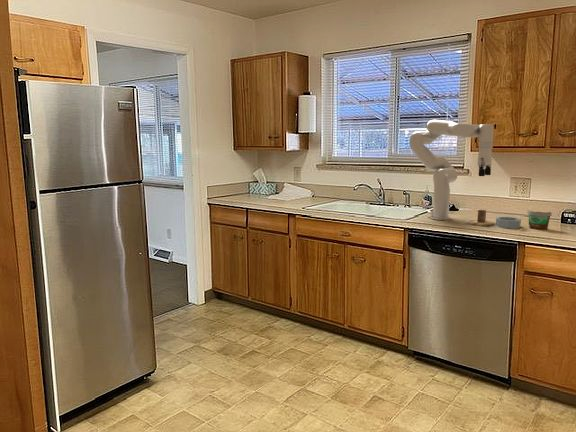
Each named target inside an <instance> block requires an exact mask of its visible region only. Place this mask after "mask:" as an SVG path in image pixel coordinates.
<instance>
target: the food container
mask: <svg viewBox="0 0 576 432" xmlns="http://www.w3.org/2000/svg"><path fill="white" fill-rule="evenodd" d="M527 215H528V229H532V230H537V231H539V230H540V231H545V230H548V228H549V222H550V218H551V216H552V215H553V214H552V211H548V212H545V211H544V212H543V211H532V210H529V209H528V211H527Z"/></svg>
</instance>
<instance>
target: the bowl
mask: <svg viewBox="0 0 576 432" xmlns="http://www.w3.org/2000/svg"><path fill="white" fill-rule="evenodd" d="M495 223H496V225H495V226H496V227H498V228H502V229H519V228H521V223H522V219H521V218H518V217H512V216H497V217H496V218H495Z"/></svg>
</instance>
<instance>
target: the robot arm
mask: <svg viewBox="0 0 576 432" xmlns="http://www.w3.org/2000/svg"><path fill="white" fill-rule="evenodd" d="M443 135H444V136H451V137H452V136H454V137H460V138H462V137H463V138H478V153H477V166H478V177H485V176H491V174H492V160H493V159H492V156H493V153H492V149H493V147H494V125H493V124H491V123H483V124H474V123H472V124H470V123H458V122H454V121H453V120H452V121H451V120H442V119H431V120H429V121H428V122H427V125H426V130H419V131H418V130H417V131H414V132H413V133H412V134H411V135H410V136H409V147H410V150H411V151H412V153H414V155H415V156H416V157H417V159H419V161H420V162H421V163H422V164H423V166H424V167H425V168H426V170H428V171H430V172H434V174H433V176H432V178H433V179H432V181H433V202H432V203H433V205H432V210H427V215H430V217H429V218H430V219H431V220H437V221H446V220H451V219H452V216H450V215H449V213H450V198H451V188H450V184H451V183H454V182H455V181H456V180H457V179H458V172H457V170H456V169H455V168H454V166H453V164H451V163H450V162H449V161H448V159H447V158H446V157H444V156H442V155H435V154H434V153H433V152H432V151H431V149H429V148H428V147H427V146H425V145H429V144H432V143H434V141H436V140H437V139H438V138H439V137H441V136H443Z"/></svg>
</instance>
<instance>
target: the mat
mask: <svg viewBox="0 0 576 432" xmlns="http://www.w3.org/2000/svg"><path fill="white" fill-rule="evenodd" d="M463 225H468V226H475V227H477V226H476V225H471V224H469V221H468V222H464V223H463ZM493 226H496V222H494V225H493ZM493 226H480V227H481V228H483V227H484V228H490V227H493Z"/></svg>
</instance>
